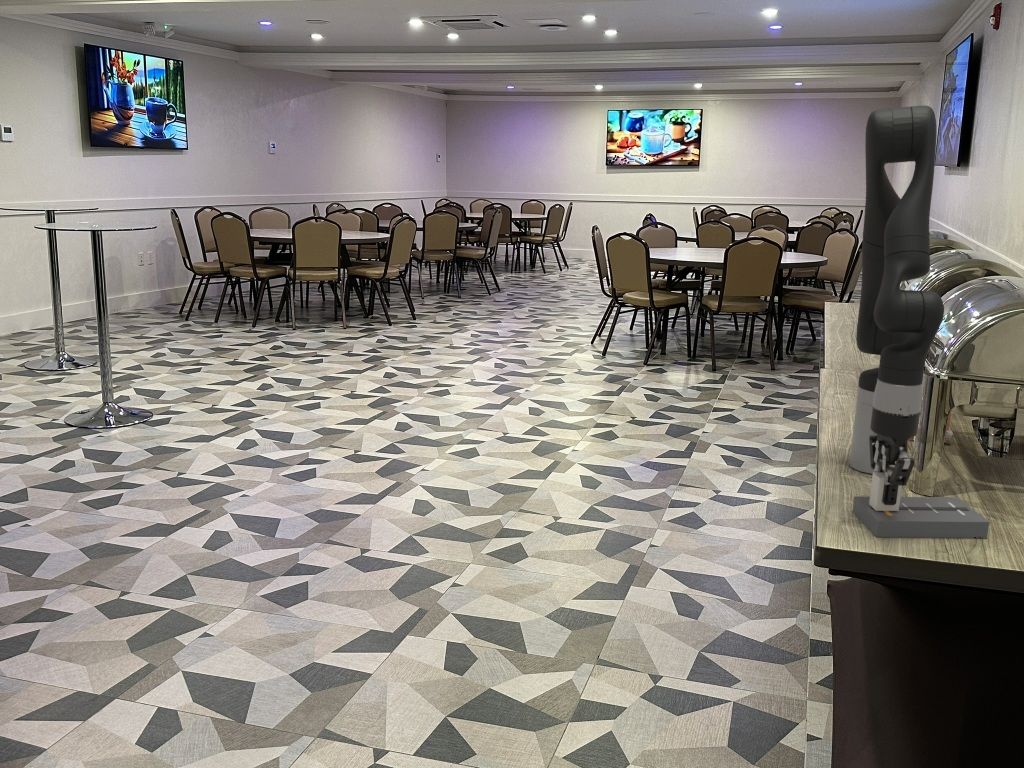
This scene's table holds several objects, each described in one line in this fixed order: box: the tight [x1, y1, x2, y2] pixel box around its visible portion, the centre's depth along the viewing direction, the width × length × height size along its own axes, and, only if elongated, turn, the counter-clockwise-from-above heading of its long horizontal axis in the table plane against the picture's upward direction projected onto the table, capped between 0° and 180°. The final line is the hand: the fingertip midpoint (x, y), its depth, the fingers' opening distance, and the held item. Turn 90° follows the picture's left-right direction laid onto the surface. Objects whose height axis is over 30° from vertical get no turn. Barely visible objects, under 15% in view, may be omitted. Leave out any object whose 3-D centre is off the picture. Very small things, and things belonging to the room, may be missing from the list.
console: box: [852, 496, 991, 539], centre depth 156 cm, size 11×19×3 cm, turn 90°
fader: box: [869, 471, 903, 511], centre depth 155 cm, size 3×4×6 cm
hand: (884, 499), depth 155 cm, fingers closed on fader, 3 cm apart
